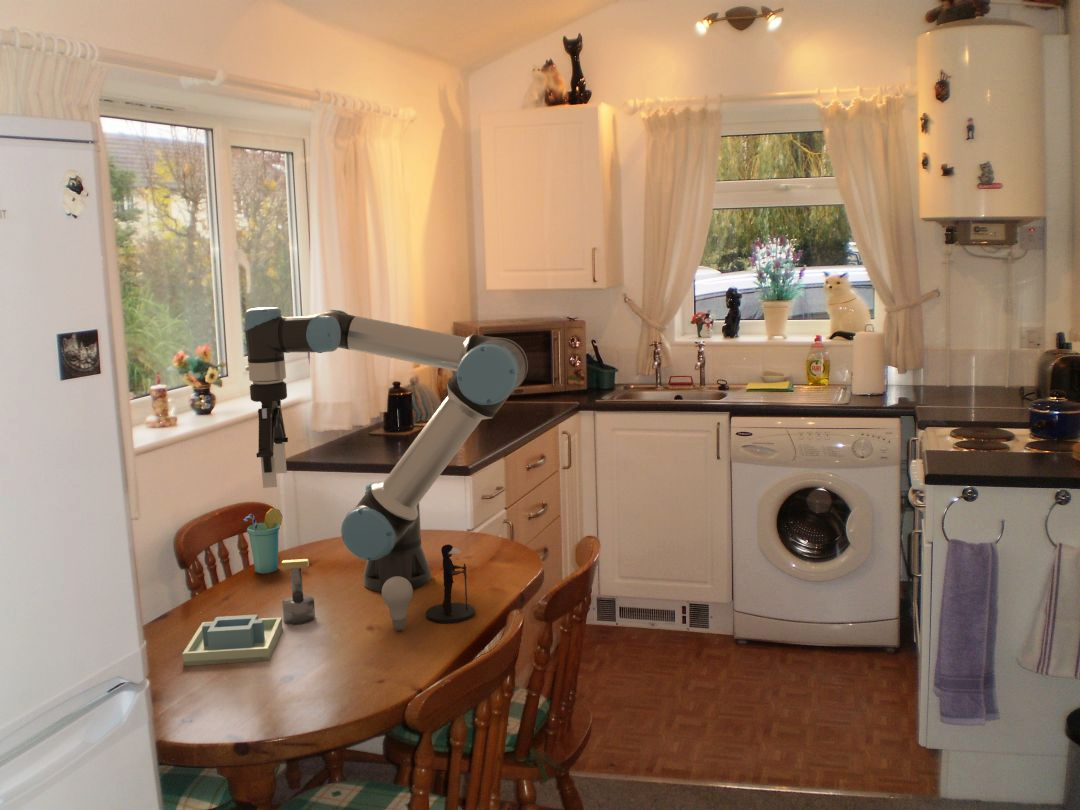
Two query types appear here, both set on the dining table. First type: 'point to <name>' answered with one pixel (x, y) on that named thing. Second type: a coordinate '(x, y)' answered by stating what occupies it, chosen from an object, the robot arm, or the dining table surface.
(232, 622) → the slotted blue block
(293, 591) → the grey stamp
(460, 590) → the dining table surface
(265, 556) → the cup
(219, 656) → the tray
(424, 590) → the dining table surface
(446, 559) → the figurine
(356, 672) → the dining table surface
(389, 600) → the lightbulb
